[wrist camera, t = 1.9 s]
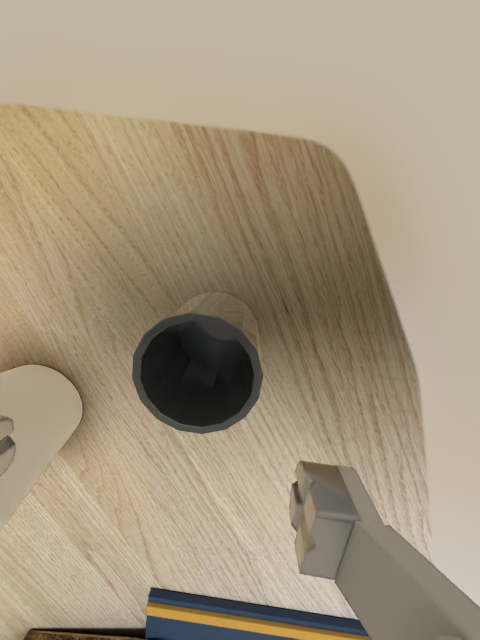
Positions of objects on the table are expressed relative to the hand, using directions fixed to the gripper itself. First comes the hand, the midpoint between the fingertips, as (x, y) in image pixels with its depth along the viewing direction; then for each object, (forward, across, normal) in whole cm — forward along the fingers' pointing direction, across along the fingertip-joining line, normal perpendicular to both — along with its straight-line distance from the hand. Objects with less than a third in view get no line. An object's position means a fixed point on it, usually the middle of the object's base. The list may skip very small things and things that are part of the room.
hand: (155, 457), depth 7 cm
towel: (+12, -8, +32) cm, 35 cm away
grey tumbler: (+12, 0, 0) cm, 12 cm away
